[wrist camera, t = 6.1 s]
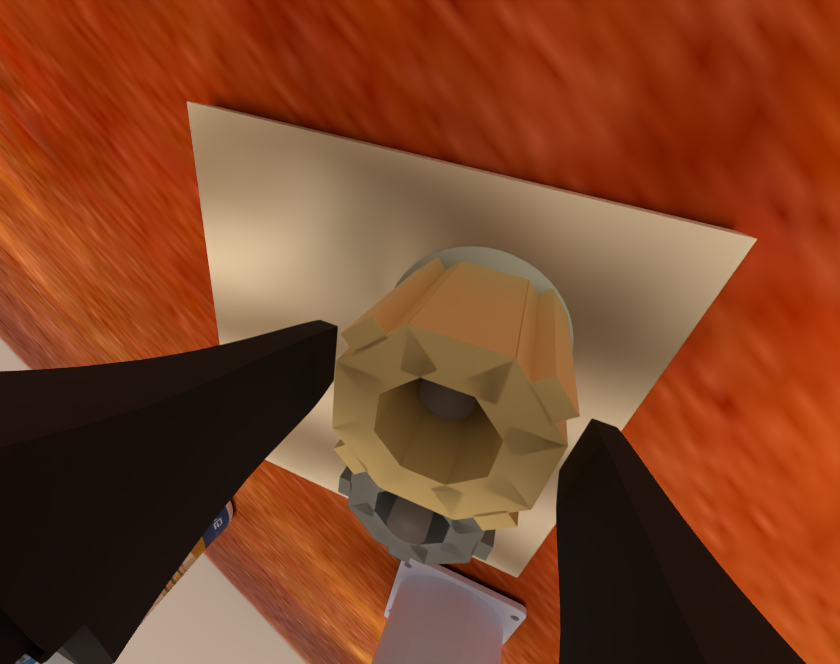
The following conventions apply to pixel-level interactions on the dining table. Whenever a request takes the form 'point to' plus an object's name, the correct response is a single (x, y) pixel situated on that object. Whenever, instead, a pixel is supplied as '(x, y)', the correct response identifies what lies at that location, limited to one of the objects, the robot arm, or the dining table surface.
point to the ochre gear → (465, 372)
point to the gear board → (452, 242)
